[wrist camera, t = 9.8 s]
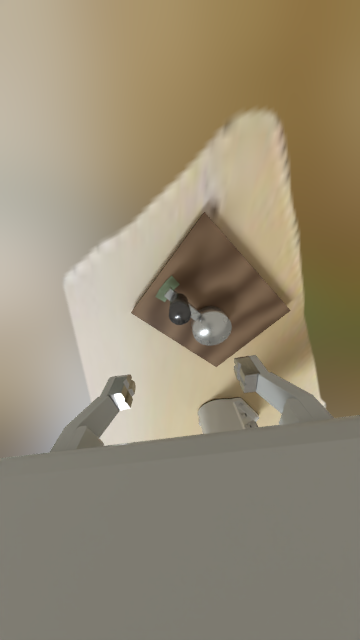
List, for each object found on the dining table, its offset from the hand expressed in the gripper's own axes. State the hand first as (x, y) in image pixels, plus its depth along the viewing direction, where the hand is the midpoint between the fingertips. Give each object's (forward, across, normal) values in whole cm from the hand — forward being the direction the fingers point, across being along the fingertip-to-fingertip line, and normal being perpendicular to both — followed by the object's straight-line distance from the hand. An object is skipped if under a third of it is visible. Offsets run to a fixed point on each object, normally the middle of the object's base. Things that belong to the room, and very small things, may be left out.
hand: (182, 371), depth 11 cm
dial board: (+18, +6, -4) cm, 19 cm away
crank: (+16, +3, -3) cm, 17 cm away
